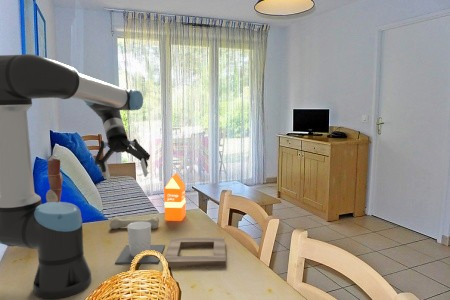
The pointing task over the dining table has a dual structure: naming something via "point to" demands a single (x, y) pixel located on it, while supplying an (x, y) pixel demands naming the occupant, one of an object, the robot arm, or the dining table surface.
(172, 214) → the orange juice
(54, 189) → the vase
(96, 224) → the dining table surface
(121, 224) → the dog toy
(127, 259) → the rubber mat
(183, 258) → the puzzle board
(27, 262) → the dining table surface
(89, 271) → the robot arm
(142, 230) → the white cup
